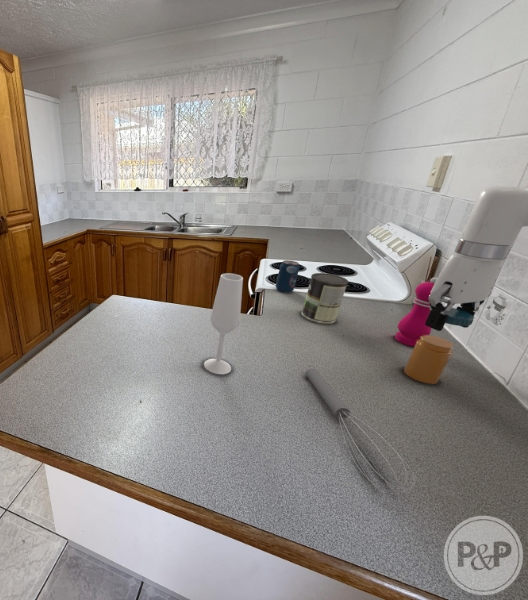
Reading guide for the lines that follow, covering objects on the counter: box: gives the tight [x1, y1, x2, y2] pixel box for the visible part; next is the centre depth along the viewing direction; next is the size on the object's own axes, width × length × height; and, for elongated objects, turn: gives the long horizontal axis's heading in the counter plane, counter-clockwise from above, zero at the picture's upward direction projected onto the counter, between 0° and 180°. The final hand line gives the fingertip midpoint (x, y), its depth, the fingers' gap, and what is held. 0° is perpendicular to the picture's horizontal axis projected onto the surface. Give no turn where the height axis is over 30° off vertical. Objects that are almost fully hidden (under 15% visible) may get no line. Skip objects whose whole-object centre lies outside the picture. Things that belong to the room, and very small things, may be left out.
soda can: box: [275, 259, 300, 294], centre depth 126 cm, size 7×7×12 cm
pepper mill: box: [394, 276, 438, 347], centre depth 88 cm, size 7×7×20 cm
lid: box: [430, 307, 475, 327], centre depth 70 cm, size 7×7×2 cm
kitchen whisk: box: [305, 365, 416, 497], centre depth 61 cm, size 6×34×6 cm, turn 172°
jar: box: [403, 335, 454, 385], centre depth 75 cm, size 6×6×10 cm
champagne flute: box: [203, 273, 244, 375], centre depth 74 cm, size 7×7×24 cm
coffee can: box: [301, 272, 349, 325], centre depth 103 cm, size 10×10×14 cm
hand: (446, 325), depth 71 cm, fingers closed on lid, 6 cm apart
